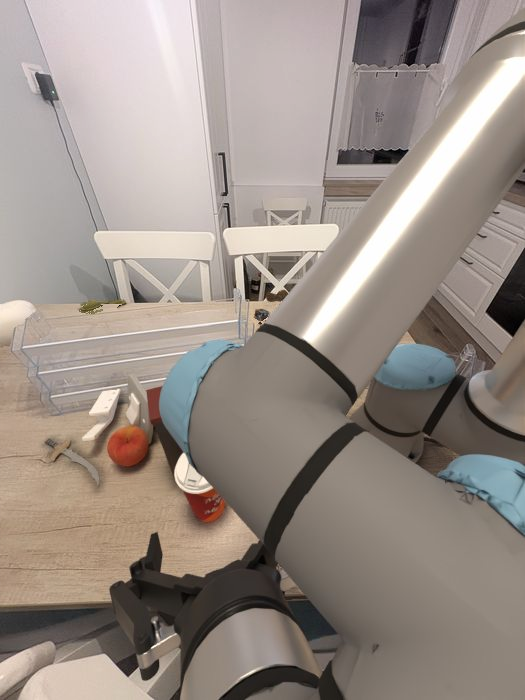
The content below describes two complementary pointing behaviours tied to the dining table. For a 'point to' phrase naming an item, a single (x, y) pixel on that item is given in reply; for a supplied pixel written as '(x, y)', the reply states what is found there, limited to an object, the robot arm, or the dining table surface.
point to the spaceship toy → (97, 305)
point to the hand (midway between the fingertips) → (212, 521)
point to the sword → (72, 456)
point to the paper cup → (198, 491)
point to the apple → (128, 446)
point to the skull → (13, 318)
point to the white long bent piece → (103, 412)
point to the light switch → (138, 406)
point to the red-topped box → (163, 429)
